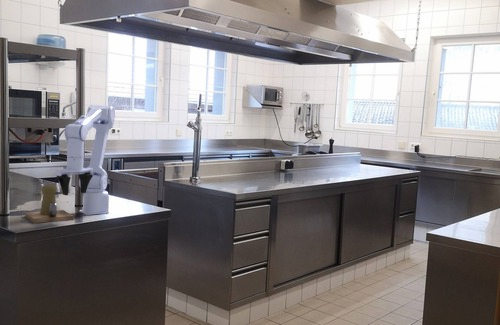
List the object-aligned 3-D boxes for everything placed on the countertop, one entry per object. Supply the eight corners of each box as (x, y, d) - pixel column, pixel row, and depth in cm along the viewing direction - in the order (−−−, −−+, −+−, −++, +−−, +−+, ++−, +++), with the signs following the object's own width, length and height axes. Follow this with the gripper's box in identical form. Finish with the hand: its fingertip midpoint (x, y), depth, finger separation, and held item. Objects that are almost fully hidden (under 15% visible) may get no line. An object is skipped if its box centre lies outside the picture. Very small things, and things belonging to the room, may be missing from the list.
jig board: (62, 213, 193) (62, 209, 193) (73, 219, 184) (73, 215, 184) (25, 216, 185) (25, 212, 184) (34, 223, 175) (34, 218, 175)
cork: (60, 214, 185) (60, 185, 184) (44, 215, 181) (44, 186, 180) (52, 211, 189) (53, 183, 188) (37, 212, 185) (37, 184, 184)
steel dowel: (55, 215, 182) (55, 202, 182) (57, 216, 180) (57, 203, 180) (48, 216, 181) (48, 202, 180) (50, 217, 179) (50, 203, 179)
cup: (63, 195, 232) (63, 170, 230) (54, 193, 235) (54, 169, 234) (75, 194, 238) (76, 169, 237) (66, 192, 241) (67, 168, 240)
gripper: (85, 155, 187) (84, 190, 188) (51, 156, 175) (50, 194, 176) (97, 157, 183) (96, 193, 184) (63, 158, 171) (62, 197, 172)
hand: (74, 193), depth 180 cm, fingers open, 7 cm apart
